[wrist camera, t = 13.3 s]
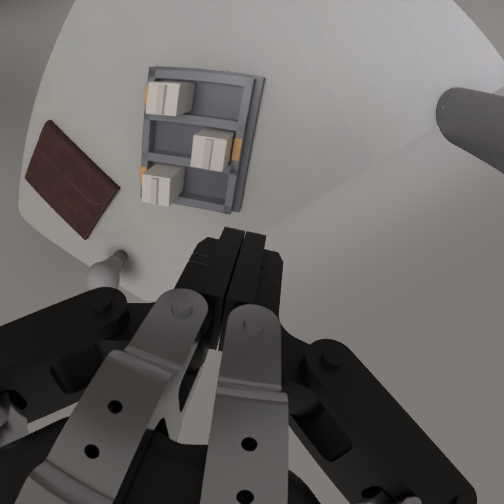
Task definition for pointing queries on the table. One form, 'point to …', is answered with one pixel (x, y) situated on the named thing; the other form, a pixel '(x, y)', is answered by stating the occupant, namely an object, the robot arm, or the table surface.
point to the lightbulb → (106, 272)
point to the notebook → (69, 180)
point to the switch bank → (202, 115)
